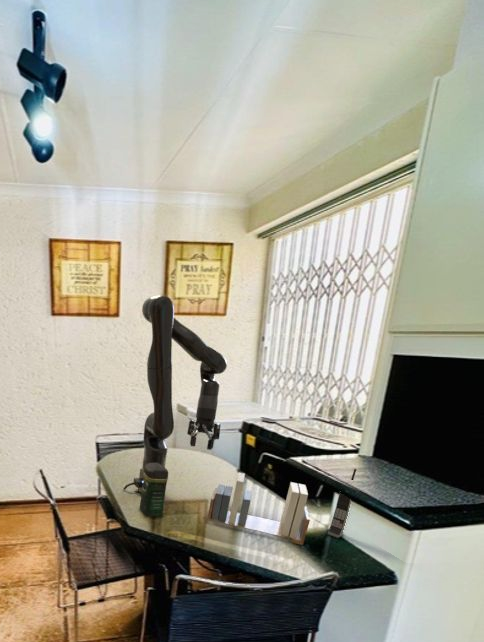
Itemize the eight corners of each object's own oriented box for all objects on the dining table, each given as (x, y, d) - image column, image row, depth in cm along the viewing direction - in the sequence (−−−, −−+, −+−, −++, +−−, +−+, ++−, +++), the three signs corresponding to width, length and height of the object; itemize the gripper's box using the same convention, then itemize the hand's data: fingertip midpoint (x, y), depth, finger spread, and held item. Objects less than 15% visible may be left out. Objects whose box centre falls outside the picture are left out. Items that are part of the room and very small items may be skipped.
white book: (228, 522, 138) (236, 480, 133) (230, 512, 147) (238, 472, 142) (234, 524, 137) (243, 482, 132) (236, 513, 146) (245, 473, 141)
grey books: (211, 518, 140) (215, 493, 136) (214, 508, 149) (218, 484, 145) (245, 526, 136) (250, 500, 133) (246, 515, 145) (251, 490, 142)
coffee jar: (165, 518, 140) (172, 469, 134) (144, 518, 139) (150, 469, 132) (156, 506, 149) (162, 460, 143) (137, 507, 147) (142, 460, 141)
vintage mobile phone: (327, 534, 139) (346, 468, 131) (331, 530, 142) (351, 466, 134) (338, 538, 137) (359, 472, 128) (342, 534, 140) (363, 469, 132)
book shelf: (206, 522, 140) (211, 498, 137) (210, 510, 150) (215, 487, 147) (302, 545, 130) (310, 519, 127) (300, 530, 141) (306, 506, 137)
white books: (281, 534, 132) (292, 491, 127) (280, 523, 141) (290, 482, 136) (296, 538, 131) (308, 494, 126) (294, 526, 140) (305, 484, 135)
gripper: (187, 405, 157) (181, 445, 160) (215, 407, 146) (209, 450, 149) (199, 406, 162) (193, 445, 164) (227, 409, 151) (221, 450, 153)
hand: (200, 447), depth 157 cm, fingers open, 8 cm apart
